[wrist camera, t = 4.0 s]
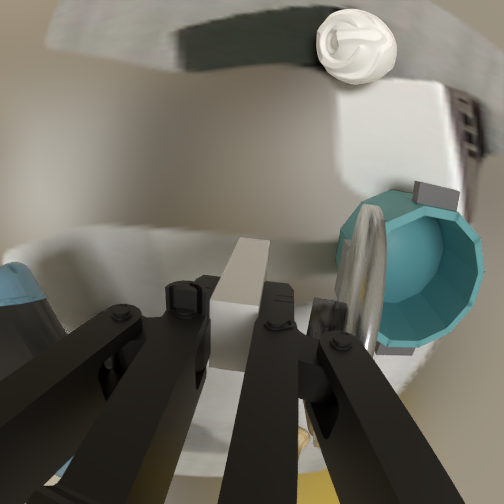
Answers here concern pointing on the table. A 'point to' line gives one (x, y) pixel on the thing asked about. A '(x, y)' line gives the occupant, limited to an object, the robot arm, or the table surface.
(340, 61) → the white swirled ball
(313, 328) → the lid
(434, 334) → the pot
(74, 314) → the table surface
